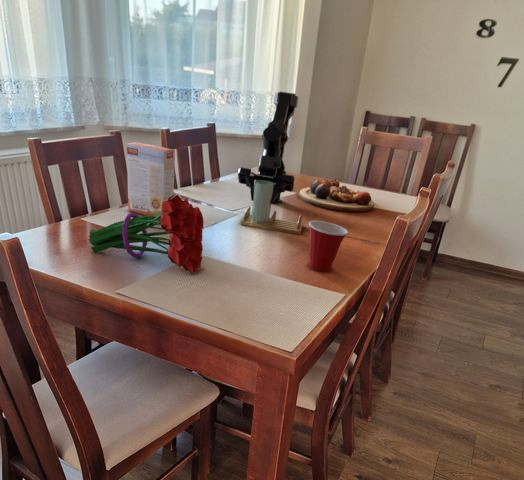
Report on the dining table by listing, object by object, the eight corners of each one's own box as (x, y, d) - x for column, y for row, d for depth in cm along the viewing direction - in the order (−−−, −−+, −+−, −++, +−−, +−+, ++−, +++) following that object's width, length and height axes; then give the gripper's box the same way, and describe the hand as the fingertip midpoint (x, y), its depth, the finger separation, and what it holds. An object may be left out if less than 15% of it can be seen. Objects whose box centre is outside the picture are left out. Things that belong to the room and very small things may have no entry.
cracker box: (174, 217, 157) (176, 149, 146) (163, 220, 152) (164, 151, 142) (138, 207, 161) (138, 140, 151) (127, 210, 156) (126, 142, 146)
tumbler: (252, 216, 166) (257, 179, 159) (270, 219, 165) (275, 182, 158) (249, 221, 160) (253, 182, 154) (267, 224, 160) (272, 186, 153)
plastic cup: (346, 275, 131) (355, 233, 125) (309, 275, 128) (318, 231, 122) (330, 260, 140) (338, 220, 134) (296, 260, 136) (303, 218, 130)
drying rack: (246, 216, 168) (247, 205, 166) (302, 226, 167) (304, 214, 164) (241, 224, 159) (242, 212, 157) (300, 234, 158) (302, 222, 156)
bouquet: (111, 262, 135) (213, 260, 128) (80, 283, 120) (193, 282, 114) (93, 190, 125) (201, 183, 119) (57, 204, 111) (178, 197, 105)
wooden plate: (389, 211, 201) (394, 191, 197) (333, 215, 184) (337, 193, 180) (338, 190, 223) (342, 172, 219) (284, 192, 206) (287, 173, 201)
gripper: (241, 140, 155) (232, 182, 151) (298, 149, 153) (290, 192, 150) (243, 162, 165) (234, 202, 162) (296, 170, 164) (289, 211, 161)
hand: (261, 201), depth 158 cm, fingers closed on tumbler, 6 cm apart
